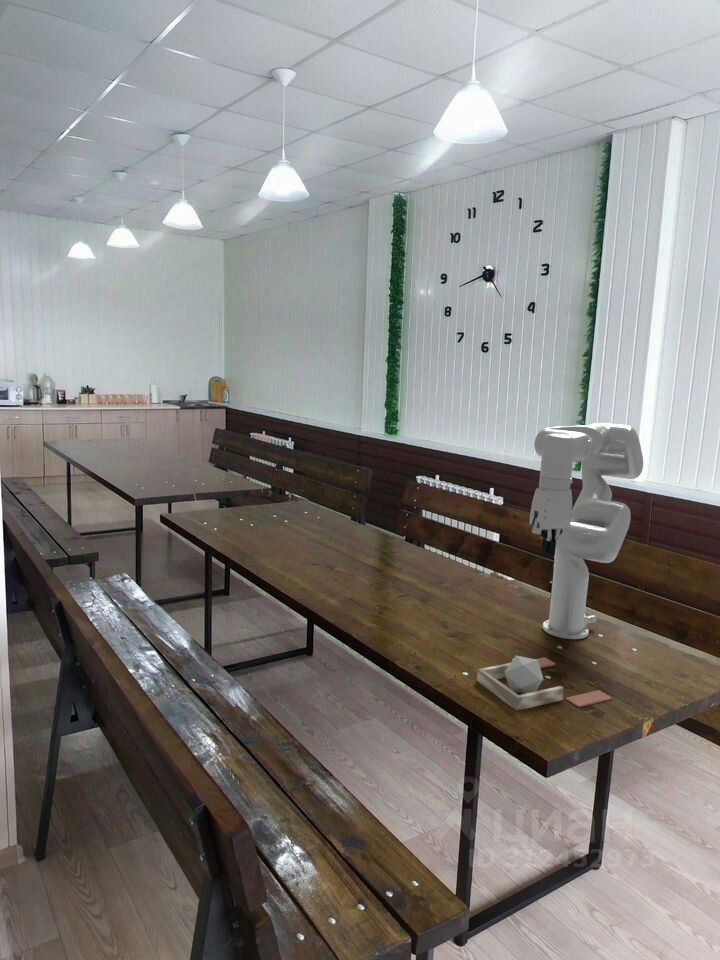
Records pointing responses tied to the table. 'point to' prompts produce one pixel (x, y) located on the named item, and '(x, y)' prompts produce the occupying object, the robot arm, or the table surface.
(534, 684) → the die
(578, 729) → the table surface
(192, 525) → the table surface
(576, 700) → the mat
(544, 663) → the mat
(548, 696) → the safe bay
